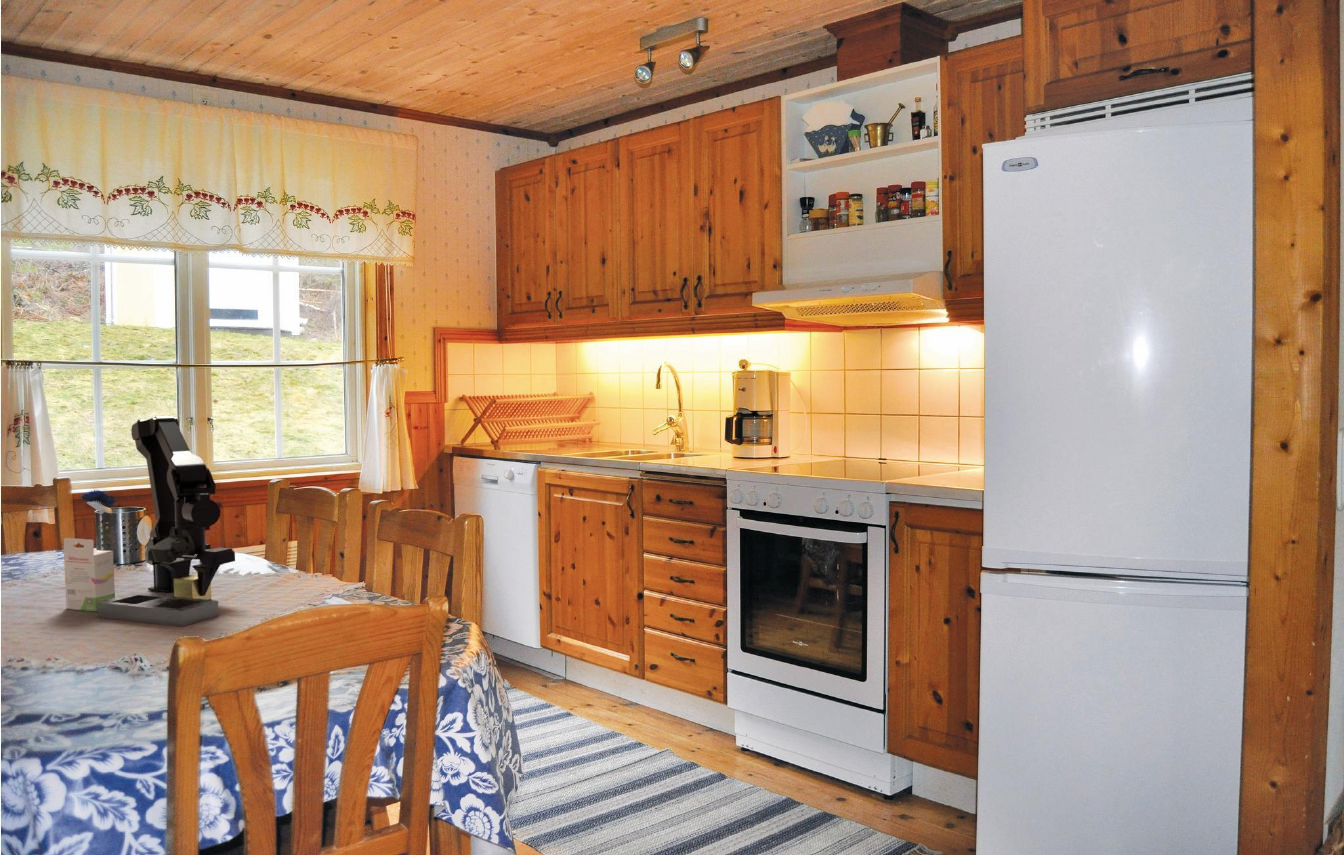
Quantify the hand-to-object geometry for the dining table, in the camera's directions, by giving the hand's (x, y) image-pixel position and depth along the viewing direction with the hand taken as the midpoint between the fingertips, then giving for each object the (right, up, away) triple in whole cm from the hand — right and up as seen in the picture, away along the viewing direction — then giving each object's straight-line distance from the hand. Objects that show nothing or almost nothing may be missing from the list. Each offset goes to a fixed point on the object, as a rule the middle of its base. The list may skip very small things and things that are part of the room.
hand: (192, 594), depth 214 cm
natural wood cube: (0, -1, 0) cm, 1 cm away
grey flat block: (0, -2, -14) cm, 14 cm away
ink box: (-18, -2, -6) cm, 19 cm away
